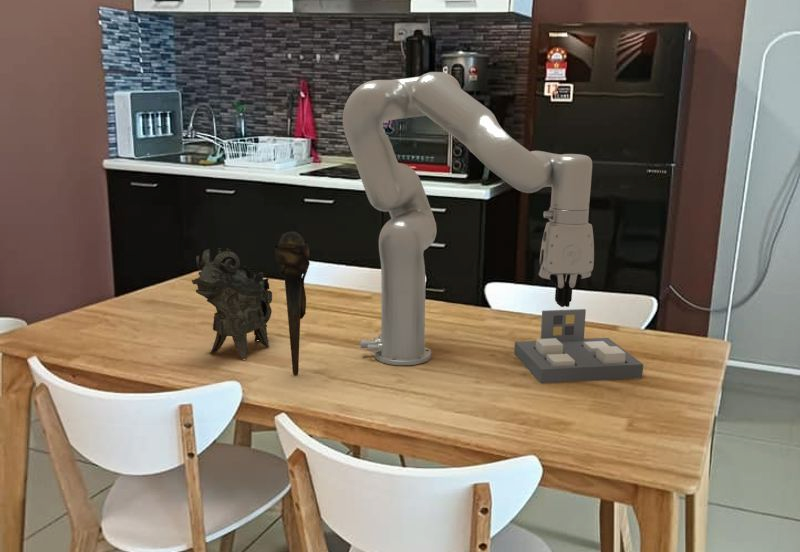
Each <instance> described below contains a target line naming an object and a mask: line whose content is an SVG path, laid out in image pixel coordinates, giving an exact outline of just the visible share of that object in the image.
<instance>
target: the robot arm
mask: <svg viewBox="0 0 800 552" xmlns="http://www.w3.org/2000/svg"><path fill="white" fill-rule="evenodd" d="M342 113H343V114H342V127H343V131H344V132H343V133H344V135H345V138H346V141H347V143H348V146H349V149H350V151H351V155H352V157H353V159H354V161H355V162H354V163H355V165H356V166H355V167H356V169H357V171H358V174H359V177H360V179H361V183H362V185H363V187H364V191H365V194H366V198H367V199H368V202H369V203H370V205H371V206H372V207H373V208H374V209H376V210H378V211H380V212H384V213H386V212H388V213H389V216H390V219H389V220H388V221H387V222H386V223H385V224H384V225H383V226H382V228H381V230H380V233H379V236H378V252H379V259H380V270H381V285H380V286H381V287H380V288H381V327H380V328H381V333H379V334H377V335H378V337H374V339H360V341H359V347H360V349H366V351H368V352H369V351H370V352H371V351H373V353H374V359H375V360H377V361H379V362H380V363H383V364H387V365H391V366H414V365H421V364H422V363H426V362H428V361H429V360H431V358H432V350H431V349H430V348H428V347H427V346H425V333H426V331H425V330H426V329H425V326H426V266H425V258H424V253H425V252H424V251H425V250H427V249H428V248H429V247H431V246H432V244H433V243H434V242H435V239H436V237H437V231H438V230H437V222H436V220H435V217H434V214H433V213H434V212H433V210H432V207H431V205H430V203H429V199H428V197H427V194H426V192H425V188H424V186H423V184H422V181H421V178H420V177H419V175H418V173H417V172H416V170H414V169H413V168H412V167H411V166H409V165H407V164H405V163H399V162H398V159H397V157H396V154H395V151H394V149H393V148H394V147H393V144H392V143H391V140H390V138H389V136H388V135H387V133H386V131H385V129H384V122H388V121H394V120H400V119H401V120H402V119H407V118H417V117H425V116H426V117H427V118H429V119H430V120H431V121H433V123H435V124H437V125H438V126H440V128H442V129H443V130H444V131H446V132H447V133H448V134H450V135H451V136H452V137H454V138H455V139H456V140H457V141H459V142H460V143H461V144H462V145H464V146H465V147H466V148H467V149H468V150H469V152H470V153H472V154H473V155H474V156H475V157H476V158H477V159H478V160H479V162H481V163H482V164H483V165H484V166H485V167H487V169H489V170H490V171H491V172H492V173H493V174H495V175H496V176H497V177H498V178H500V179H501V180H503V181H504V182H505V183H507V184H508V185H510V186H511V187H513V189H515V190H517V191H519V192H521V193H526V194H532V193H537V192H538V191H540V190H541V189H543V188H547V187H551V198H550V207H549V209H548V210H545V211H543V213H542V214H543V219H548V222H546V224H545V228H544V231H543V236H542V240H541V245H540V246H541V247H540V255H539V267H540V269H539V272H538V276H539V277H540V278H542V279H546V280H550V281H551V283H553V284H554V285H555V290H554V291H555V293H554V301H555V303H556V304H557V305H558V306H559V307H561V308H564V307H566V308H569V307H570V303H571V302H572V301H573V299H572V297H573V288H575V286H576V284H578V282H579V281H580V280H581V279H586V278H587V279H588V278H590V277H591V276H592V272H593V270H594V264H595V262H594V261H595V242H594V241H595V239H594V231H593V225H592V224H591V223H589V215H590V214H589V213H590V199H591V187H592V176H593V161H592V159H591V157H590V156H588V155H586V154H580V153H579V154H578V153H563V154H560V153H559V154H558V153H552V152H547V151H542V150H532V151H529V149H527V148H526V147H524V146H523V145H522V144H520V143H519V142H518V141H517V140H515V139H514V138H513V137H511V136H510V135H509V134H508V133H507V131H505V130H504V129H503V128H502V126H501V125H500V124H499V121H498V120H497V118H496V116H495V114H494V113H493V112H492V111H491V110H490V109H489V108H488V107H486V106H485V105H483V104H482V103H481V102H480V101H478V100H477V99H475V98H474V97H473V96H472V95H470V94H469V93H468V92H466V91H464V90H463V89H462V87H461V85H460V83H459V81H458V80H457V78H455V77H454V75H453V76H452V75H451V74H449V73H447V72H443V71H429V72H427V73H423V74H422V75H420V76H414V77H406V78H399V79H398V78H397V79H374V80H370V81H367V82H365V83H362V84H361V85H359V86H357V88H356V89H354V90H353V91H352V93H351V94H350V96H349V97H348V99H347V101H346V103H345V105H344V108H343V112H342ZM564 275H565V277H564ZM564 278H565V279H564Z"/></svg>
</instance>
